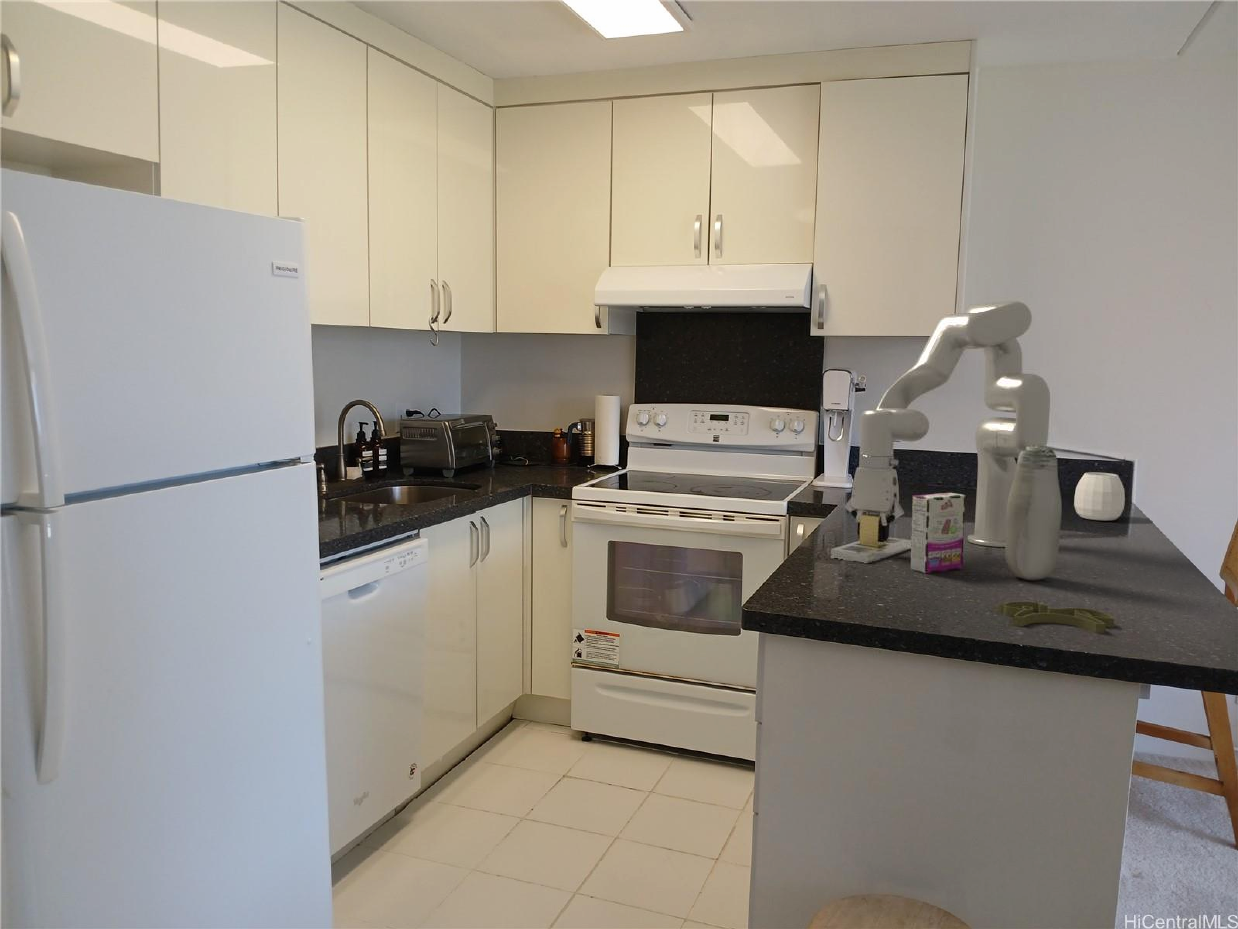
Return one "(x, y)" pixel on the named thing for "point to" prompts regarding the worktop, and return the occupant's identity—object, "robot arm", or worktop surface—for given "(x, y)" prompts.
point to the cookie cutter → (1056, 615)
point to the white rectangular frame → (870, 550)
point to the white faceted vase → (1099, 496)
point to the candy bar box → (937, 532)
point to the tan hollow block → (870, 530)
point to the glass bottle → (1034, 515)
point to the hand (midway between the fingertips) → (872, 539)
